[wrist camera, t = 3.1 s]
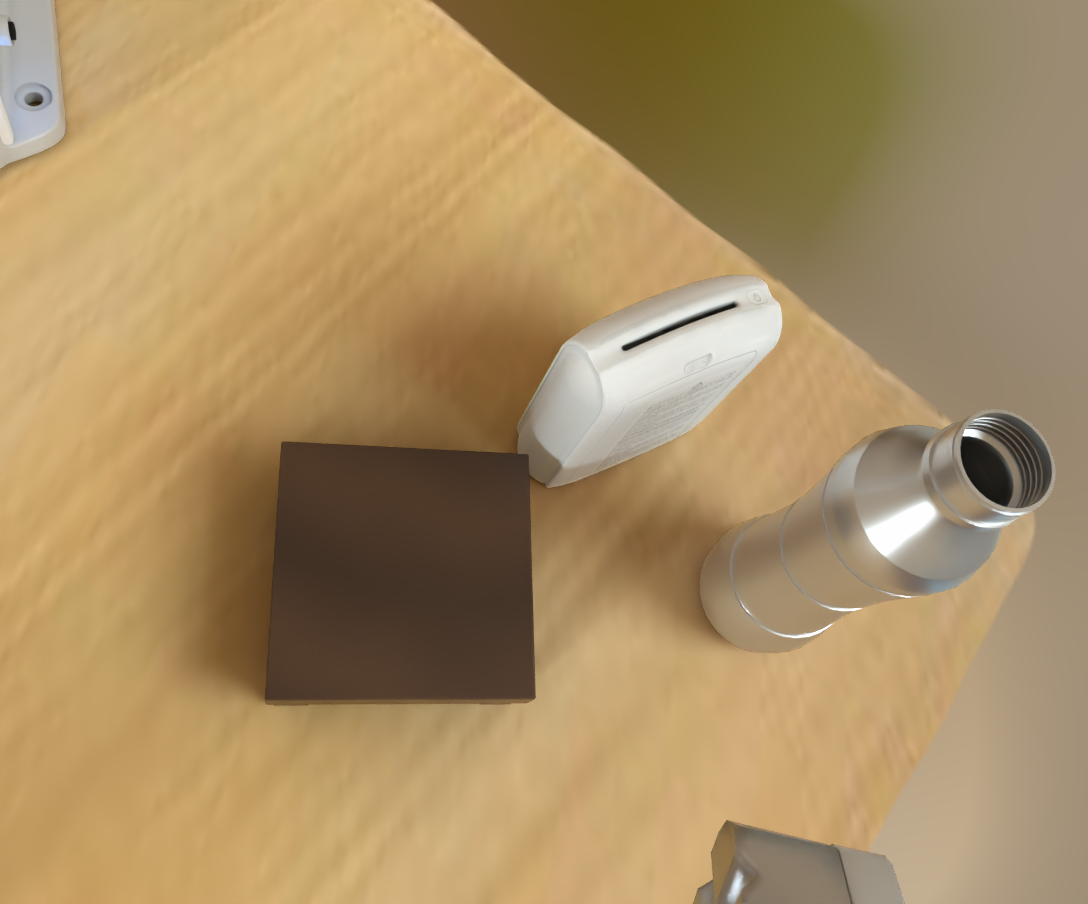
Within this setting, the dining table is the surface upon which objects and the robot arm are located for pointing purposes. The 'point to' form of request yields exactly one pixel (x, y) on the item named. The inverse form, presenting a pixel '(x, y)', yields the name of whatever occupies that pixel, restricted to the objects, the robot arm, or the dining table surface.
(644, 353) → the photo printer
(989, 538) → the aluminum water bottle
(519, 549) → the walnut riser
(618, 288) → the dining table surface
